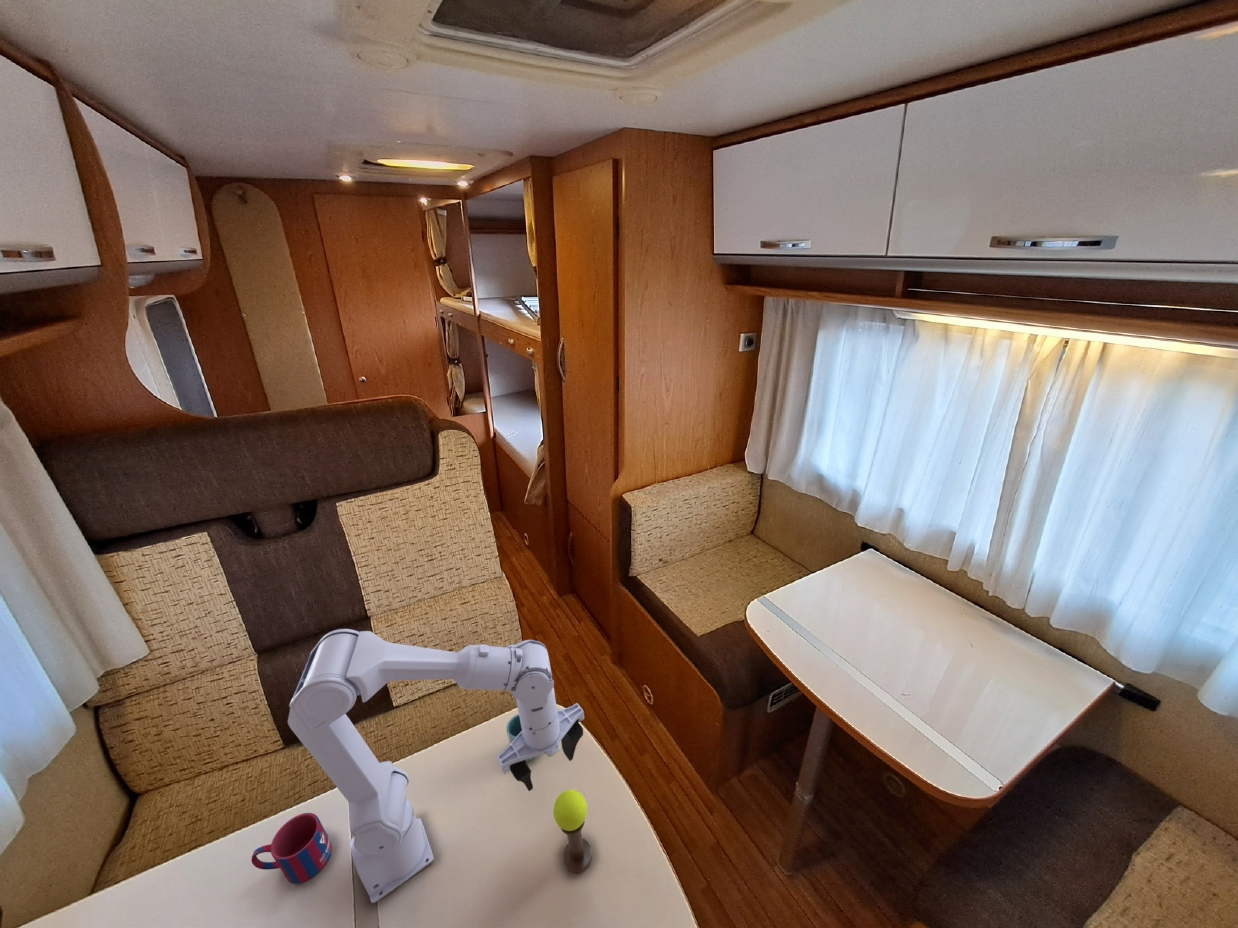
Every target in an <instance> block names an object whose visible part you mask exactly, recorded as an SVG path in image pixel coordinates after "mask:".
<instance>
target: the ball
mask: <svg viewBox="0 0 1238 928" xmlns="http://www.w3.org/2000/svg"><path fill="white" fill-rule="evenodd" d="M587 813H588V805H587V801H586V799H585V797H584V795H583V794H582V793H581V792H579V791H578V790H575V789H567V790H565V791H563V792H561V793H560V794H559V795H558V796H557V798H556V799H555V802H554V804H553V818H554V820H555V823H556V825H557V826H558V827H559V828H560V829H561V828H562V829H563V830H566V831H573V830H575V829H577V828H579V827H580V826H581V825H582V824H583V822H584V820H586V818H587ZM584 823H585V822H584Z"/></svg>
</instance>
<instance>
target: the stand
mask: <svg viewBox="0 0 1238 928" xmlns="http://www.w3.org/2000/svg"><path fill="white" fill-rule="evenodd" d="M585 820H586V819H585ZM585 820H584V822H583V824H582V825H581V826H580V827H579V828H577V829H575V830H573V831H566V830H563V829H562V828H560V830H561V832H562V833H563V834H564V835H566V838H567V843H566V845H565V846H564V849H563V852H562V860H563V864H564V867H565V868H566V869H567V870H568V872H570V873H573V874H580V873H583V872H584V871H586V870H587V869H588V867H589V866H590V865H591V862H592V859H593V849H592V847H591V844H590V842H588V840H586V839H585V838H583V835H582V829H583V828H584V826H585Z"/></svg>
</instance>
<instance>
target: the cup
mask: <svg viewBox="0 0 1238 928" xmlns="http://www.w3.org/2000/svg"><path fill="white" fill-rule="evenodd" d="M332 852H333V843H332V841H331V839H330V837H329V835H328V833H327V831H326V829H325V828H324V826H323V823H322V822H321V820H320V818H319V817H318V816H317V815H316V813H313V812H304V813H300V814H298V815H296V816H294V817H292V818H290V819H289V820H288V821H286V822H285V823H284V824H283V825H282V826H281V827H280V828H279V829H278V830H277V832H276V833H275V835H274V837H273V838H272V840H271V843H270V844H265V845H261V846H260V847H257V848H256V849H255V850H254V851H253V852H252V855H251V860H250V861H251V864H252V865H253V866H254V867H255V868H257V869H259V870H264V871H265V870H268V871H269V870H278V869H280V870H281V873H283V876H284V877H285V879H286V881H288V882H289V883H290V884H294V885H297V884H298V885H299V884H300V885H301V884H303V883H306V882H308V881H310V880H312V879H313V878H314V877H316V876H317V875H318V874H319V873H320V872H321V871H322V870H323V869H324V868H325V866H326V865H327V864H328V862H329V860H330V858H331V856H332ZM265 853H270V854H271V856H272V858H273V859H274V861H263V860H260V859H259V857H258V855H260V854H265Z"/></svg>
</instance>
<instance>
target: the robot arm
mask: <svg viewBox="0 0 1238 928" xmlns="http://www.w3.org/2000/svg"><path fill="white" fill-rule="evenodd" d="M551 668H552V667H551V663H550V657H549V652H548V649H547V647H546V645H545V644H544V643H542V642H540V641H538V640H533V639H525V640H522V641H520V642H518V643H516V644H509V645H507V646H493V645H489V644H482V643H481V644H467V645H466V646H465V647H463V648H462V649H460V650H459V651H450V650H443V649H435V648H431V647H423V646H415V645H409V644H402V643H396V642H391V641H390V642H389V641H386V640H384V639H383V638H382V637H380V636H378V635H377V634H376V633H374V632H373V631H370V630H365V631H364V630H362V631H358V630H355V629H350V628H339V629H335V630H332V631H329V632H328V633H326V634H325V635H323V636H322V637H321V638H320V639H319V640H318V642H317V644H316V645H315V646H314V647H313V648H312V650H311V651H310V653H309V656H308V658H307V661H306V664H305V667H304V668H303V671H302V674H301V677H300V679H299V681H298V683H297V686H296V688H295V691H294V693H293V696H292V698H291V700H290V702H289V705H288V707H289V713H288V716H287V724H288V727H289V728H290V730H291V731H292V732H293V733H294V735H295V736H296V737H297V738H298V740H299V741H300V742H301V743H302V745H303V746H304V748H305V749H306V750H307V751H308V752H309V754H310V756H312V758H313V759H314V760H315V761H316V763H317V764H318V765H319V766H320V768H321V769H322V770H323V771H324V773H325V774H326V775H327V777H328V778H329V779H330V780H331V782H332V783H333V784H334V786H335V787H336V788H337V790H338V791H339V792H340V793H341V794H342V796H343V797H344V798H345V799H346V801H347V802H348V816H349V817H348V818H349V819H348V820H349V831H350V833H351V834H352V835H353V837H352V838H350V839H349V846H350V852H351V856H352V860H353V863H354V867H355V869H356V872H357V875H358V877H359V879H360V880H361V883H362V885H363V887H364V889H365V890H366V893H367V894H368V897H369V900H370V903H371V904H376V903H377V902H378V901H380V900H381V899H382V898H384V897H385V896H386V895H388V894H390V893H391V892H392V891H394V890H395V889H397V888H398V887H399V886H400V885H402V884H403V883H405V882H406V881H408V880H409V879H410V878H411V877H414V876H415V875H416V874H417V873H419V872H420V871H422V870H423V869H424V868H425V867H427V866H429V865H430V864H431V863H433V862H434V859H435V857H434V854H433V851H432V847H431V844H430V842H429V839H428V836H427V833H426V830H425V827H424V824H423V821H422V819H421V817H417V815H416V812H415V810H414V807H413V805H412V803H411V801H410V800H409V799H408V794H407V790H408V785H409V783H410V778H409V775H408V773H407V772H406V771H405V770H403V769H401V768H400V767H399V768H398V767H396V765H394V763H393V762H392V761H391V760H386V761H382V762H380V761H379V760H378V758H377V756H375V754H374V752H373V750H371V748H370V747H369V745H368V744H367V742H366V741H365V739H364V738H363V737H362V735H361V734H360V732H359V731H358V729H357V728H356V727H355V725H354V724H353V721H351V719H350V718H349V716H348V715H347V713H348V712H349V711H350V710H352V708H353V707H354V705H355V703H356V701H357V698H358V697H357V696H360V697H361V701H362V703H365V702H368V701H369V700H370V699H371V698H372V697H373V696H374V695H375V694H377V693H378V691H380V690H381V689H382V688H383V687H385V685H386V684H387V683H389V682H394V681H395V682H396V681H397V682H398V681H399V682H402V681H434V680H435V681H436V680H453V681H454V682H455V683H456V685H457V686H458V687H459V688H460V689H462V690H474V691H476V690H478V691H497V692H510V693H511V695H512V697H513V698H514V699H515V702H516V707H517V712H518V714H519V717H520V722H521V727H522V731H521V732H520V733H519V735H518V736H517V737H516V738H515V739H514V740H513V741H512V743H511V744H509V745H508V746H507V747H506V748H505V749H504V750H503V751H502V752H501V753H500V754H498V755H496V759H497V763H498V766H499V768H500V770H501V772H502V774H503V775H506V774H508V772H511V774H512V776H513V777H514V779H515V780H517V782H521V783H523V784H524V786H525V788H526V789H527V791H528V792H531V791H532V790H533V789H534V784H533V782H532V775H531V774H532V769H531V768H530V766H529V765H528V762H526V759H529V758H532V757H534V758H536V757H538V756H542V755H544V754H546V755H547V757H549V758H551V757H553V756H555V755H556V754H557V753H559V752H560V750H561V749H562V752H563V754H564V755H565V757H566V758H567V760H568V762H571V761H573V759H574V756H575V751H576V749H577V745H578V743H579V741H580V740H581V738H583V736H584V729H583V726H582V725H581V724H580V722H582V721H583V720H585V712H584V710H583V708H582V707H581V706H580V704H579V703H577V702H576V703H574V704H573V705H571V706H569V707H565V708H563V709H559V710H558V708H557V707H558V706H557V700H556V694H555V693H556V692H555V688H554V685H555V680H553V673H552V669H551ZM560 742H561V746H560Z"/></svg>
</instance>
